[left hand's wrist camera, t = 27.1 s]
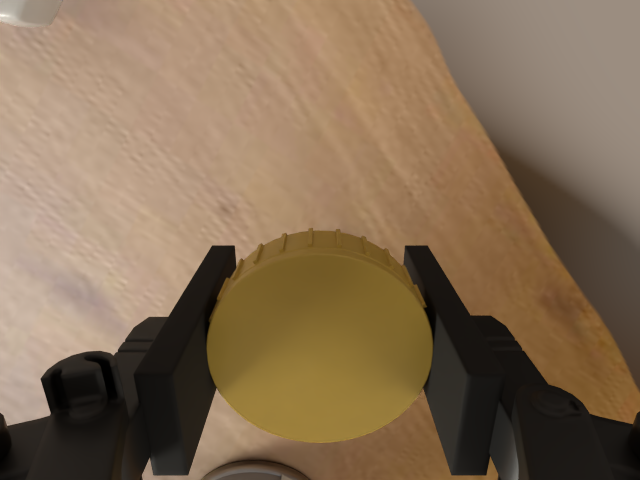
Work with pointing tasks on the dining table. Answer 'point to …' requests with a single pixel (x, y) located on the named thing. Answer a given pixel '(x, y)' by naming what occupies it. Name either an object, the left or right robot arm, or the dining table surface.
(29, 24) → the right robot arm
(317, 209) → the dining table surface
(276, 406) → the lid
